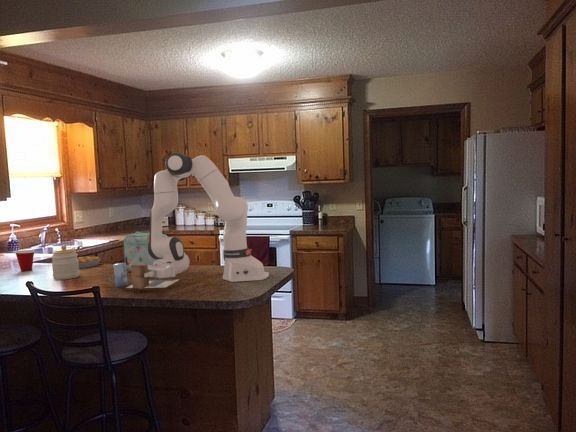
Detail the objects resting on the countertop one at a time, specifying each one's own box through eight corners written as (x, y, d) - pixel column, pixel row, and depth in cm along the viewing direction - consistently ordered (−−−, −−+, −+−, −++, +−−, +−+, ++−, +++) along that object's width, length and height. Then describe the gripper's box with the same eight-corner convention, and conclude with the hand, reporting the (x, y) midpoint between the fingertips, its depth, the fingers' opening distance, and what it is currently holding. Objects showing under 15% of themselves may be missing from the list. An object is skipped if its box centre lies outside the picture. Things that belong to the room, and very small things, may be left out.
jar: (69, 280, 244) (66, 246, 243) (47, 280, 247) (44, 247, 245) (85, 274, 257) (82, 242, 255) (64, 274, 259) (61, 243, 258)
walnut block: (141, 285, 211) (139, 263, 210) (149, 286, 208) (147, 263, 208) (132, 287, 207) (130, 265, 206) (140, 288, 204) (138, 266, 203)
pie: (57, 266, 288) (56, 258, 287) (94, 261, 302) (93, 253, 301) (67, 271, 271) (67, 262, 271) (106, 265, 285) (105, 256, 285)
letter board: (179, 280, 229) (179, 279, 229) (165, 288, 213) (165, 287, 213) (141, 280, 232) (141, 279, 232) (125, 288, 217) (125, 287, 217)
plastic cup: (36, 270, 276) (33, 250, 275) (15, 273, 273) (12, 252, 271) (38, 267, 287) (36, 248, 285) (18, 270, 283) (16, 250, 282)
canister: (130, 285, 224) (128, 262, 223) (124, 288, 218) (122, 265, 217) (119, 285, 224) (117, 262, 223) (113, 288, 219) (111, 265, 218)
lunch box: (121, 271, 260) (118, 233, 258) (133, 267, 270) (129, 230, 268) (163, 272, 252) (159, 232, 250) (173, 268, 261) (170, 230, 260)
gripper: (145, 260, 223) (121, 266, 211) (177, 263, 213) (154, 269, 201) (146, 273, 224) (122, 280, 212) (178, 276, 213) (155, 283, 202)
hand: (138, 274), depth 206 cm, fingers closed on walnut block, 5 cm apart
